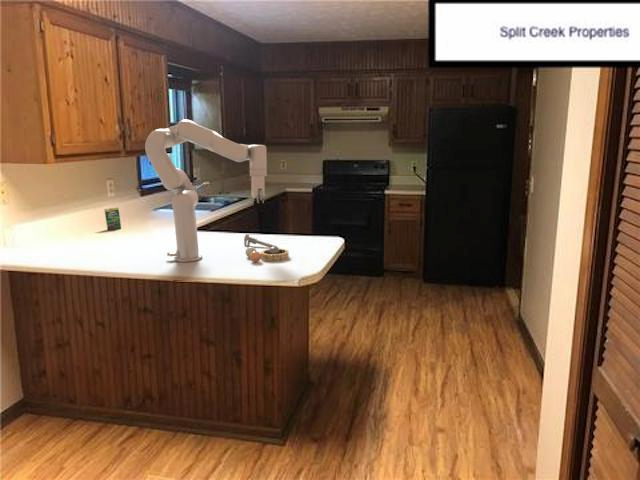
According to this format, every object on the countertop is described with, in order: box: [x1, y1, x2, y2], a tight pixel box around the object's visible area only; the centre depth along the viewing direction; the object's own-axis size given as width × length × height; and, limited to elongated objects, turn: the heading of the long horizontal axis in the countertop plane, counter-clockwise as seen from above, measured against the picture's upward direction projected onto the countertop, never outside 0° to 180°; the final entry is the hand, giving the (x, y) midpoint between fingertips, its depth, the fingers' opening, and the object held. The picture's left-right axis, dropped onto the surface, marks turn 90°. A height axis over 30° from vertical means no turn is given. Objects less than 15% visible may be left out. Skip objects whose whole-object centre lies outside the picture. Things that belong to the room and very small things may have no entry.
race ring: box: [260, 248, 290, 263], centre depth 236 cm, size 12×12×3 cm
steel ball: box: [268, 246, 280, 254], centre depth 237 cm, size 5×5×5 cm
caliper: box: [243, 233, 280, 249], centre depth 259 cm, size 20×1×6 cm, turn 63°
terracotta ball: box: [249, 250, 262, 263], centre depth 229 cm, size 5×5×5 cm
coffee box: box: [104, 207, 122, 231], centre depth 317 cm, size 8×3×13 cm, turn 118°
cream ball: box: [245, 246, 257, 258], centre depth 238 cm, size 5×5×5 cm
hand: (258, 210), depth 235 cm, fingers open, 9 cm apart
